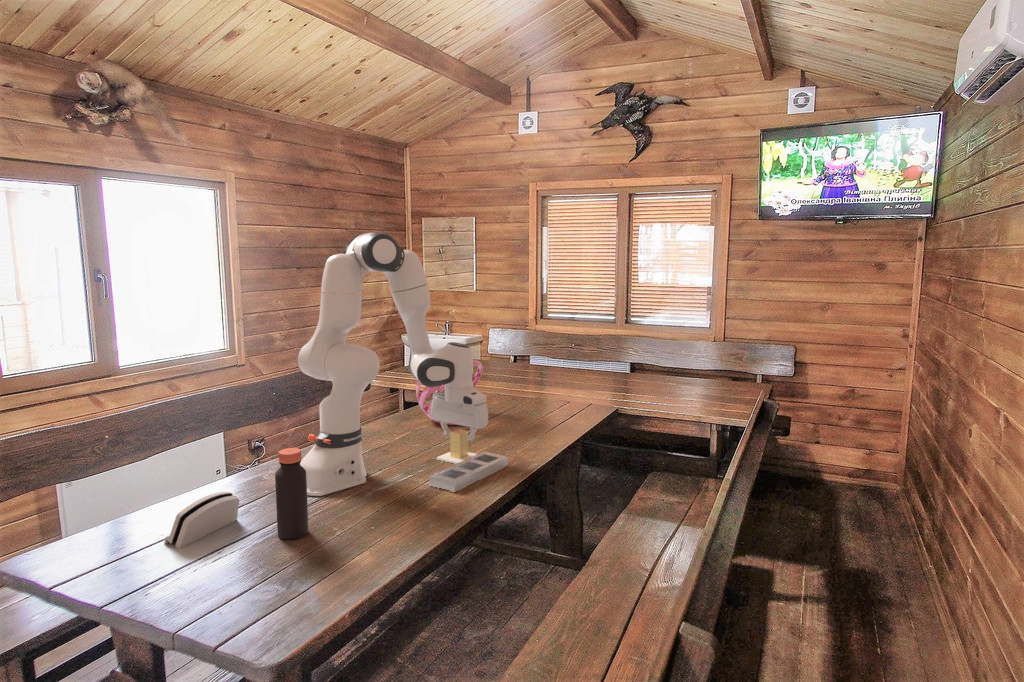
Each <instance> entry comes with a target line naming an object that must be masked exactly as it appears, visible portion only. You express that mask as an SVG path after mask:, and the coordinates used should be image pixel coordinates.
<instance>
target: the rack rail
mask: <svg viewBox="0 0 1024 682" xmlns="http://www.w3.org/2000/svg"><path fill="white" fill-rule="evenodd" d="M476 454H477V455H475V456H472V457H470V458H468V459H466V460H463V461H461V462H459V463H457V464H452V465H451V466H448V467H446V468H444V469H441V470H439V471H437V472H435V473H433V474H430V475H429V487H431V486H433V487H432V488H435V487H437V488H436V489H439V488H442V489H446V490H449V491H453V492H456V491H458V490H460V489H462V488H464V487H466V486H468V485H470V484H472V483H474V482H476V481H478V480H480V481H482V480H484V479H485V478H484V477H486V476H488V477H490V476H492V475H493V473H494V474H495V472H496V473H497V471H498V470H499V471H501V470H503V469H505V468H507V467H508V466H509V465H508V464H509V457H508V456H507V455H506V456H505V455H501V454H496V453H493V452H488V451H482V452H481V451H480V452H479V453H476ZM506 466H507V467H506ZM504 467H505V468H504ZM502 468H503V469H502ZM500 469H501V470H500ZM499 471H498V472H499ZM491 474H492V475H491ZM489 475H490V476H489ZM483 478H484V479H483ZM486 478H487V477H486ZM481 479H482V480H481ZM478 482H479V481H478ZM476 483H477V482H476ZM474 484H475V483H474ZM472 485H473V484H472ZM470 486H471V485H470ZM468 487H469V486H468ZM466 488H467V487H466ZM442 489H441V490H442ZM464 489H465V488H464ZM446 490H445V491H446ZM462 490H463V489H462ZM449 491H448V492H449ZM460 491H461V490H460ZM453 492H452V493H453ZM458 492H459V491H458ZM456 493H457V492H456Z"/></svg>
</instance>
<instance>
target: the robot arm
mask: <svg viewBox="0 0 1024 682" xmlns="http://www.w3.org/2000/svg"><path fill="white" fill-rule="evenodd" d="M368 272H369V273H378V272H381V273H383V274H384V276H385V277H386V279H387V281H388V285H389V290H390V292H391V296H392V300H393V303H394V305H395V307H396V309H397V312H398V313H399V316H400V318H401V320H402V322H403V324H404V328H405V331H406V337H407V341H408V344H409V348H410V352H409V360H408V370H409V372H410V374H411V376H413V377H414V378H415V379H416V380H417V379H418V380H419V381H420V382H421V383H422V385H423V386H425V387H426V386H428V387H436V386H440V385H445V392H441V391H436V392H434V394H432V400H433V401H432V400H431V402H432V407H431V417H432V419H434V420H439V421H440V423H439V424H440V426H441V428H442V430H443V433H442V434H443V435H444V436H450V432H451V429H450V428H449V425H447V423H453V424H458V425H457V426H463V427H468V428H469V431H470V433H468V435H467V437H468V438H467V440H468V441H470V442H473V441H475V435H476V433H477V431H478V430H482V429H484V428H486V427H487V425H488V424H489V409H488V406H487V404H486V402H487V401H488V400H487V399H488V398H487V395H486V394H485V393H482V392H481V391H479V390H478V389H476V388H475V387H474V388H473V382H472V379H473V374H474V367H473V360H474V357H473V356H474V355H473V351H472V348H471V347H469V346H468V345H467V344H464V343H460V342H454V341H453V342H451V341H450V342H448V343H446V344H445V345H444V346H443V347H441V348H440V349H438V350H436V351H435V350H434V349H433V348H432V346H431V344H430V338H429V335H428V329H427V325H426V316H427V313H428V311H429V310H430V307H431V294H430V287H429V283H428V279H427V276H426V273H425V270H424V267H423V264H422V263H421V260H420V258H419V256H418V255H417V253H416V252H414V251H412V250H409V249H403V248H402V246H401V245H399V243H398V242H397V240H396V239H395V238H394V237H392V235H390V234H387V233H384V232H380V231H379V232H372V231H371V232H366V233H361V234H359V235H356V236H354V237H353V238H351V240H350V241H349V242H348V243H347V246H346V247H345V249H344V250H343V252H342V253H336V254H333V255H331V256H329V257H328V258H327V259H326V262H325V265H324V269H323V273H322V280H321V290H320V303H319V304H320V305H319V316H318V317H319V318H318V321H317V325H316V329H315V331H314V333H313V335H312V336H311V338H310V340H309V341H307V343H306V344H304V345H303V346H302V347H301V349H300V350H299V353H298V355H297V365H298V368H299V370H300V371H301V372H302V373H303V374H304V375H306V376H309V377H311V378H314V379H316V380H322V381H327V382H328V381H329V382H332V388H331V391H330V394H329V395H326V397H324V398H323V399H322V400H321V401H320V404H319V406H318V407H319V408H318V409H319V430H318V432H317V434H313V433H310V434H308V436H307V440H308V442H309V441H310V442H312V443H315V445H314V446H313V447H312V448H311V449H310V450H309V452H307V454H306V455H305V456H303V458H301V462H300V465H301V466H302V467H303V468H304V469H305V470H306V480H307V496H311V497H312V496H313V497H323V496H325V495H329V494H332V493H335V492H338V491H342V490H346V489H348V488H352V487H356V486H359V485H363V484H365V483H367V470H366V467H365V462H364V458H363V452H362V441H363V437H362V436H363V434H362V427H361V423H360V422H361V416H360V415H361V401H362V397H363V395H364V393H365V389H366V388H367V387H368V385H369V384H370V383H372V382H373V381H375V379H376V378H377V376H378V374H379V371H380V359H379V356H378V354H377V353H376V352H375V351H374V350H372V349H370V348H367V347H365V346H362V345H359V344H351V343H346V341H347V337H348V335H349V333H350V332H351V330H352V329H355V328H356V327H357V326H358V325H359V324H360V322H361V316H362V315H361V314H362V298H363V296H362V294H363V292H362V291H363V282H364V278H365V276H366V274H367V273H368ZM435 393H436V394H435ZM432 419H431V420H432ZM434 420H433V421H434Z"/></svg>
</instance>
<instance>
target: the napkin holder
mask: <svg viewBox="0 0 1024 682" xmlns="http://www.w3.org/2000/svg"><path fill="white" fill-rule="evenodd" d="M239 507H240V499H239V497H238V496H237V495H234V494H233V493H232V492H230V491H219V492H215V493H212V494H209V495H207V496H206V495H205V496H204V497H202V498H200V499H197V500H196V501H194V502H193V503H191V504H189V505H187V506H186V507H184V508H183V509H182V510H181V511H179V512H178V513H177V514H176V516H175V520H174V522H173V525H172V527H171V531H170V534H169V535H167V536H166V537H165V538H164V542H163V544H164V545H167V544H175V546H174V547H175V548H177V549H181V548H183V547H185V546H187V545H189V544H191V543H194V542H195V541H197V540H199V539H202V538H203V537H205V536H208V535H210V534H211V533H213V532H215V531H217V530H219V529H221V528H223V527H226V526H228V525H230V524H231V523H233V522H236V521H237V519H238V513H239Z"/></svg>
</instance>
